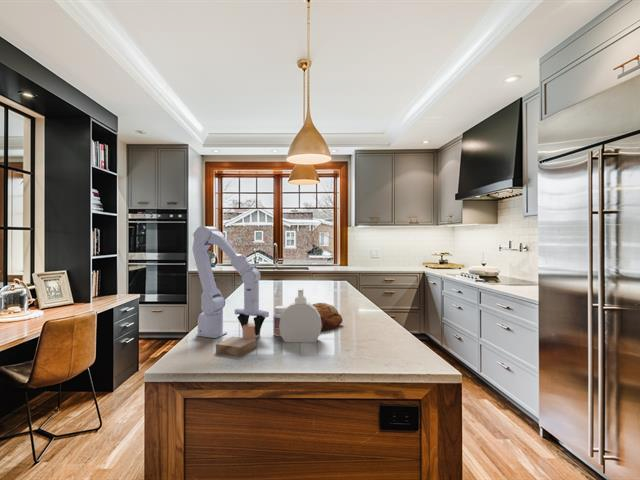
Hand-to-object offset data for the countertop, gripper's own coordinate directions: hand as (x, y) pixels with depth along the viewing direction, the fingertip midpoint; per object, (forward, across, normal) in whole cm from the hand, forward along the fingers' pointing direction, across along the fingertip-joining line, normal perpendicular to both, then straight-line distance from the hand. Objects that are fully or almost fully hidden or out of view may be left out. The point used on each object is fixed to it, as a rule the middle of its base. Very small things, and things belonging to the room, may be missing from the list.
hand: (251, 333), depth 146 cm
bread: (+2, +16, +26) cm, 31 cm away
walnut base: (+1, +4, -16) cm, 17 cm away
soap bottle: (+2, +20, +3) cm, 20 cm away
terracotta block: (+1, 0, 0) cm, 1 cm away
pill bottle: (+2, +9, +8) cm, 12 cm away
